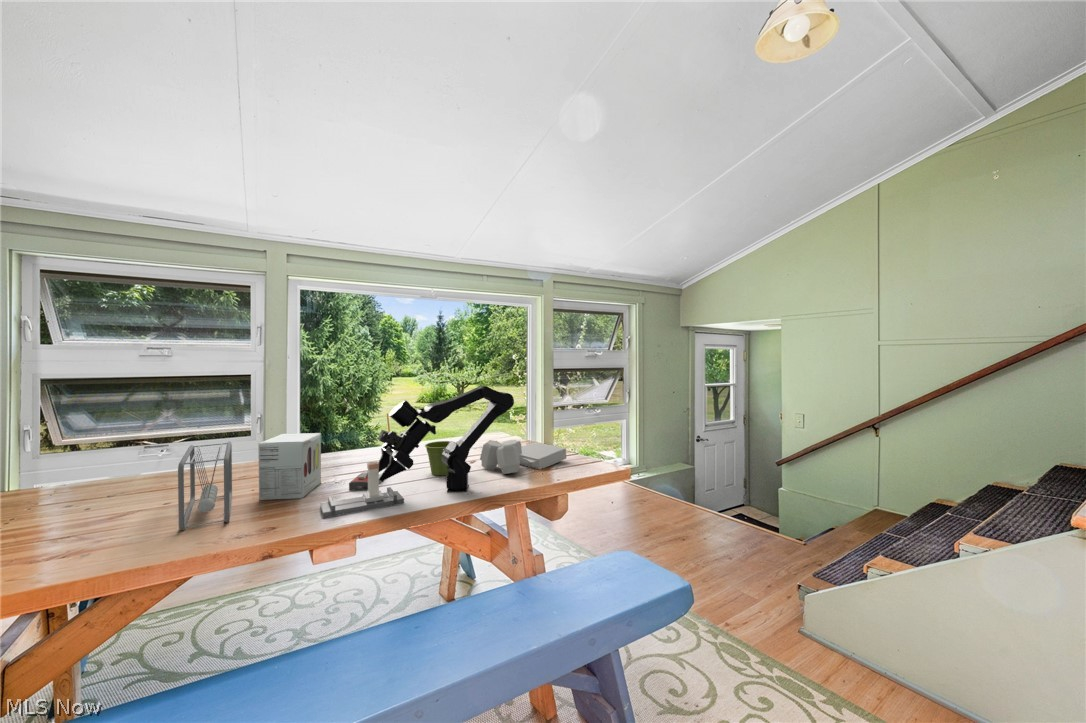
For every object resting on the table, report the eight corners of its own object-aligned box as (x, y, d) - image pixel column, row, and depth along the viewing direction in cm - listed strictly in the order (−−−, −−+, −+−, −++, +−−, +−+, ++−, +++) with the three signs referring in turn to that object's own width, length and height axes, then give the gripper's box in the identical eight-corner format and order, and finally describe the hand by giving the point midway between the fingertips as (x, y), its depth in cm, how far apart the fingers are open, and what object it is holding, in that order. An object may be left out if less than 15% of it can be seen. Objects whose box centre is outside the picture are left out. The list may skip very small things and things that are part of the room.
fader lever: (380, 494, 134) (379, 459, 133) (384, 499, 128) (383, 464, 128) (362, 496, 131) (362, 462, 131) (366, 502, 126) (366, 466, 126)
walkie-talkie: (373, 491, 143) (389, 475, 162) (373, 478, 142) (389, 463, 162) (346, 492, 142) (365, 475, 162) (346, 479, 142) (365, 464, 162)
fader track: (397, 495, 138) (397, 486, 138) (404, 503, 130) (404, 493, 130) (320, 508, 126) (320, 498, 126) (323, 518, 119) (323, 507, 118)
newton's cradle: (229, 524, 115) (228, 458, 114) (178, 533, 109) (177, 464, 108) (232, 494, 139) (231, 440, 139) (190, 500, 133) (189, 444, 133)
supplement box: (303, 498, 135) (303, 441, 135) (257, 501, 133) (256, 443, 132) (322, 482, 152) (322, 432, 152) (282, 484, 150) (281, 433, 149)
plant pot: (432, 468, 170) (432, 440, 170) (460, 469, 169) (460, 441, 168) (419, 477, 159) (419, 446, 158) (450, 478, 157) (450, 447, 157)
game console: (567, 458, 180) (565, 429, 178) (510, 483, 157) (507, 449, 156) (534, 451, 194) (532, 423, 192) (477, 473, 171) (474, 441, 170)
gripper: (387, 416, 141) (352, 454, 135) (401, 424, 125) (361, 467, 119) (412, 437, 145) (378, 475, 139) (428, 447, 129) (391, 490, 123)
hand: (377, 476), depth 130 cm, fingers open, 9 cm apart
